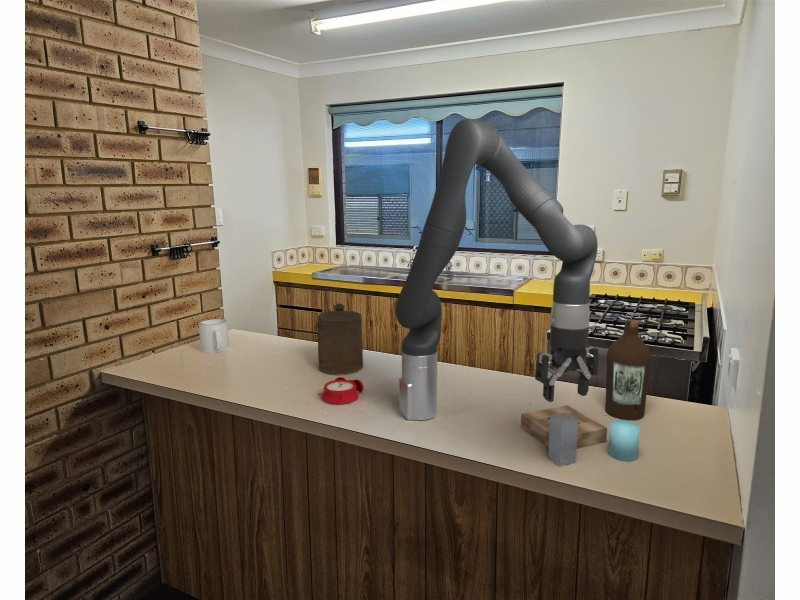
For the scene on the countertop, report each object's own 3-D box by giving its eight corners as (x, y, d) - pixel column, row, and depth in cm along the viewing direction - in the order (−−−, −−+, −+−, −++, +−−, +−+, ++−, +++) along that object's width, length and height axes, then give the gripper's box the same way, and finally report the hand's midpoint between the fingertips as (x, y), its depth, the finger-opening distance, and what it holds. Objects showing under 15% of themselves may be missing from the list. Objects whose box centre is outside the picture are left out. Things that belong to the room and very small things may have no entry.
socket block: (556, 453, 114) (557, 438, 113) (520, 427, 127) (521, 414, 126) (606, 441, 119) (607, 427, 118) (566, 418, 132) (567, 405, 131)
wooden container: (363, 360, 180) (362, 299, 175) (362, 374, 165) (360, 308, 161) (321, 361, 179) (318, 299, 175) (316, 375, 165) (313, 309, 160)
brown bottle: (602, 402, 141) (609, 314, 136) (645, 407, 137) (653, 317, 132) (602, 417, 132) (609, 323, 126) (648, 424, 128) (657, 327, 123)
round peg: (622, 463, 109) (624, 433, 108) (601, 451, 115) (604, 422, 113) (643, 458, 111) (646, 428, 110) (622, 446, 117) (625, 417, 115)
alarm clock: (312, 391, 142) (337, 364, 154) (316, 410, 144) (340, 381, 157) (346, 396, 138) (368, 368, 151) (349, 415, 140) (370, 386, 153)
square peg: (560, 466, 108) (562, 422, 106) (548, 457, 112) (550, 415, 110) (575, 463, 110) (578, 419, 108) (563, 454, 113) (565, 412, 111)
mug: (235, 352, 190) (233, 324, 188) (207, 357, 185) (205, 328, 182) (224, 343, 201) (222, 317, 199) (197, 348, 195) (195, 321, 193)
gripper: (552, 331, 99) (548, 409, 102) (610, 323, 104) (605, 398, 107) (529, 322, 106) (526, 396, 109) (584, 316, 111) (580, 386, 114)
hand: (565, 397), depth 108 cm, fingers open, 8 cm apart
